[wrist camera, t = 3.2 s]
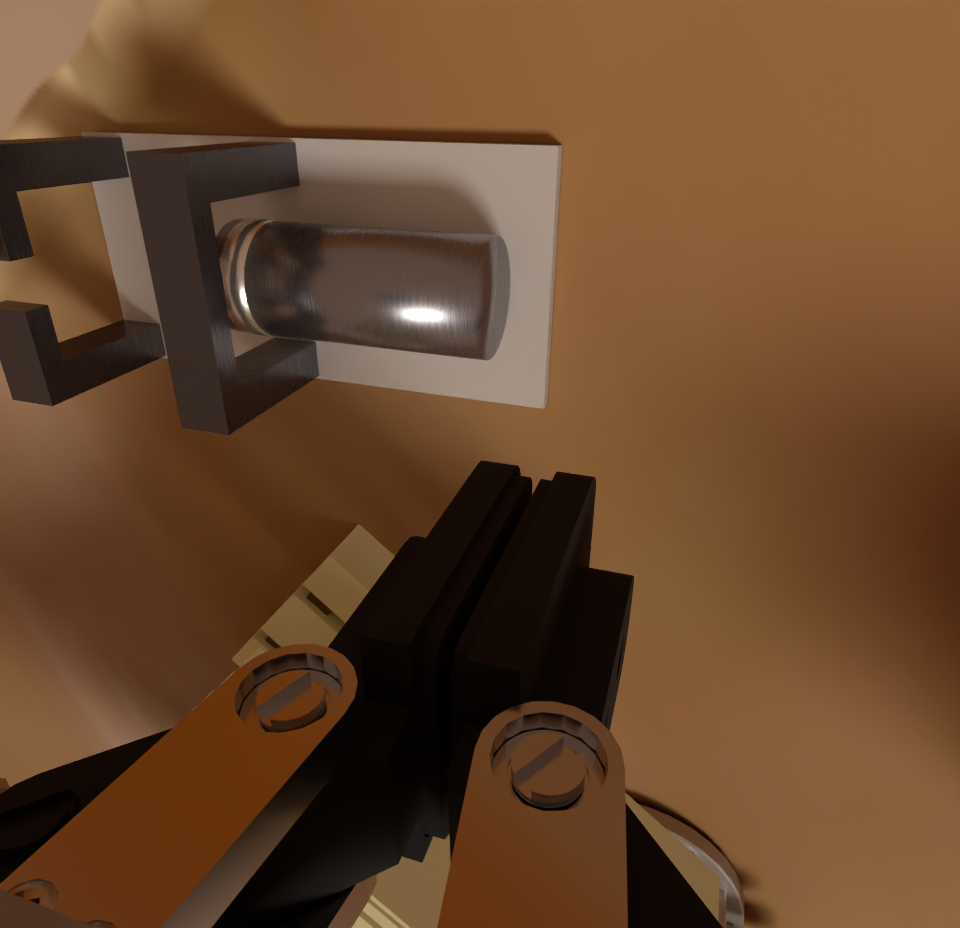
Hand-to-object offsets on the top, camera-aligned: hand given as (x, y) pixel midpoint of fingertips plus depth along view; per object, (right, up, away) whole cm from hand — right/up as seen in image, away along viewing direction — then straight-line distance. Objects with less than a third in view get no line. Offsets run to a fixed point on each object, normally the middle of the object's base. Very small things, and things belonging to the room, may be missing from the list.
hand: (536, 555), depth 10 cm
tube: (-4, +9, +17) cm, 20 cm away
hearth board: (-8, +10, +18) cm, 22 cm away
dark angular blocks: (-16, +11, +20) cm, 28 cm away
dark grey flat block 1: (-9, +9, +18) cm, 22 cm away
